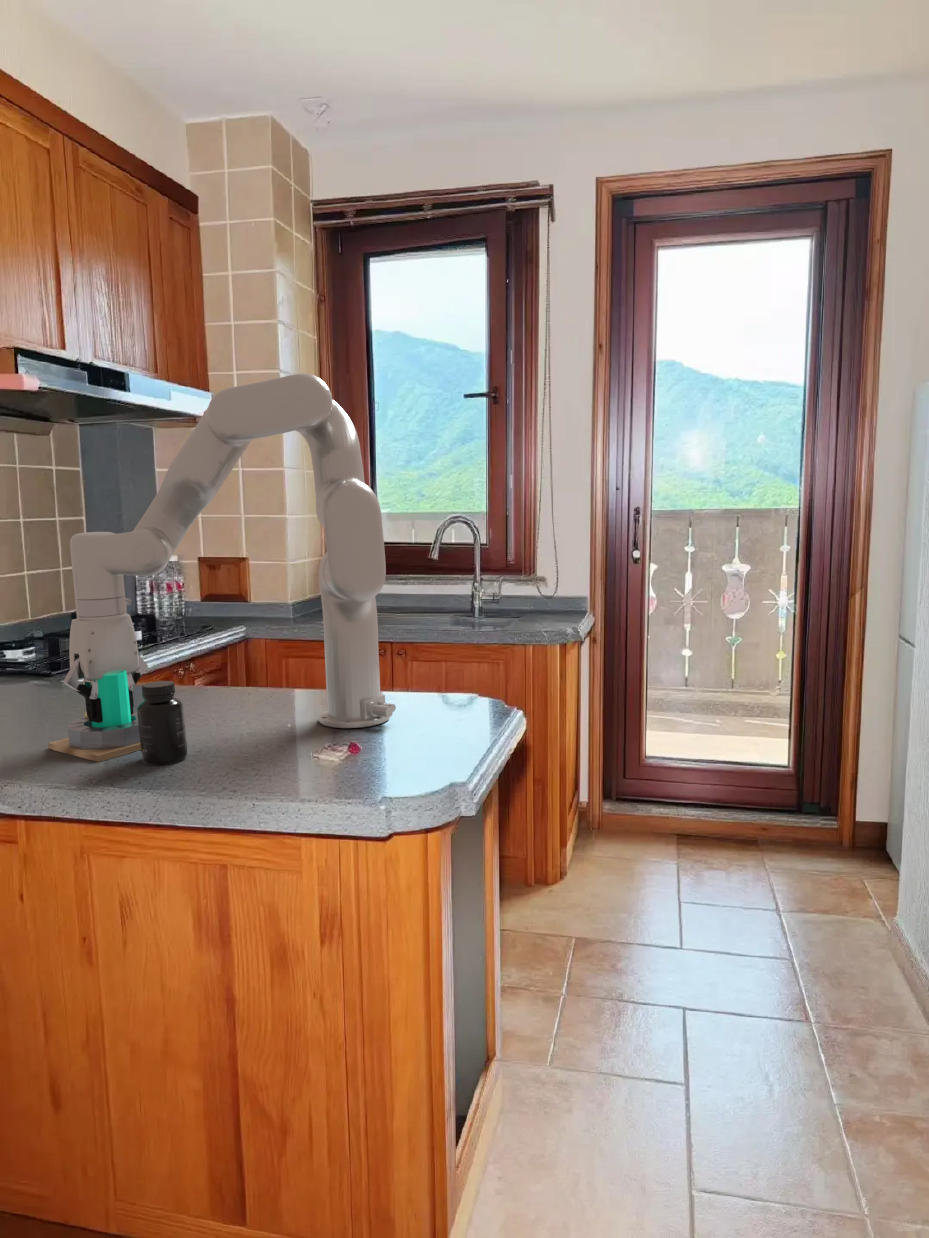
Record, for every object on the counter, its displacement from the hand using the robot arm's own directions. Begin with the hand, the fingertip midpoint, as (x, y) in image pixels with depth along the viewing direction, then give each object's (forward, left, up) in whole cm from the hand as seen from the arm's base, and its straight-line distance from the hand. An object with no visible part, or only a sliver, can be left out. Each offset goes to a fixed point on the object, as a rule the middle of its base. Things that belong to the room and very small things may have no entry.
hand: (111, 716), depth 145 cm
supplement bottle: (-15, +1, -5) cm, 15 cm away
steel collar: (0, 0, -5) cm, 5 cm away
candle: (0, 0, -3) cm, 3 cm away
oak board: (0, 0, -5) cm, 5 cm away
